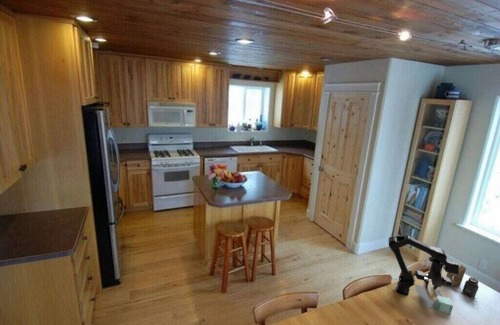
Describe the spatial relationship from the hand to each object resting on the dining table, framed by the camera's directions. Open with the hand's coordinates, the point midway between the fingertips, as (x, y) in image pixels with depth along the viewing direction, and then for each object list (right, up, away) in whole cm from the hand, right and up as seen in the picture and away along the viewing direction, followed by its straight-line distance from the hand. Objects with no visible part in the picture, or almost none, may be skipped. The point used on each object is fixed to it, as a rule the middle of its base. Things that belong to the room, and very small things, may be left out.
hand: (429, 289), depth 165 cm
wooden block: (+28, -5, +19) cm, 35 cm away
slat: (0, -2, 0) cm, 2 cm away
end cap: (+4, -9, -4) cm, 11 cm away
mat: (+3, -8, +4) cm, 9 cm away
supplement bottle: (+32, -8, +10) cm, 35 cm away
